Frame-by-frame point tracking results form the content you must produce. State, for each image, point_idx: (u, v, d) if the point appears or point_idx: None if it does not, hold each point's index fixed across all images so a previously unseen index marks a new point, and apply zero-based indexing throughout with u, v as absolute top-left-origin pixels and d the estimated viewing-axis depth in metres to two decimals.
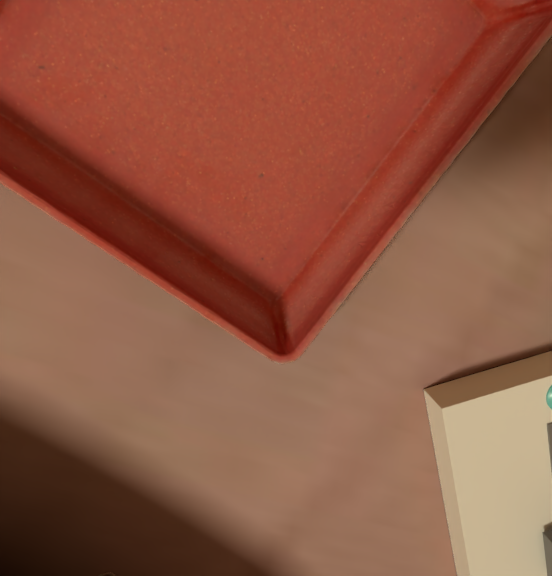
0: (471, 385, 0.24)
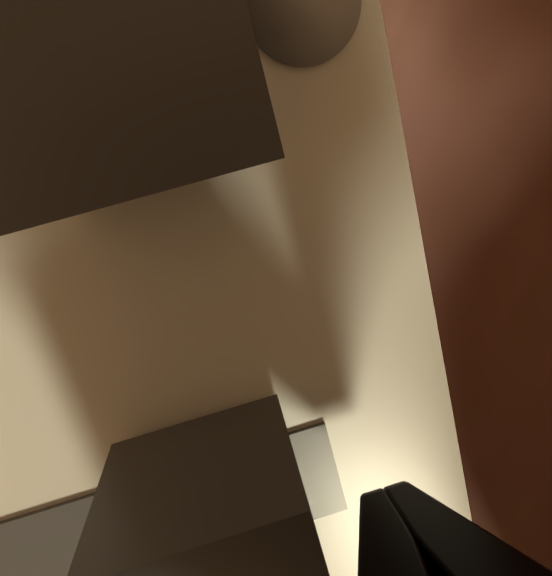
0: None
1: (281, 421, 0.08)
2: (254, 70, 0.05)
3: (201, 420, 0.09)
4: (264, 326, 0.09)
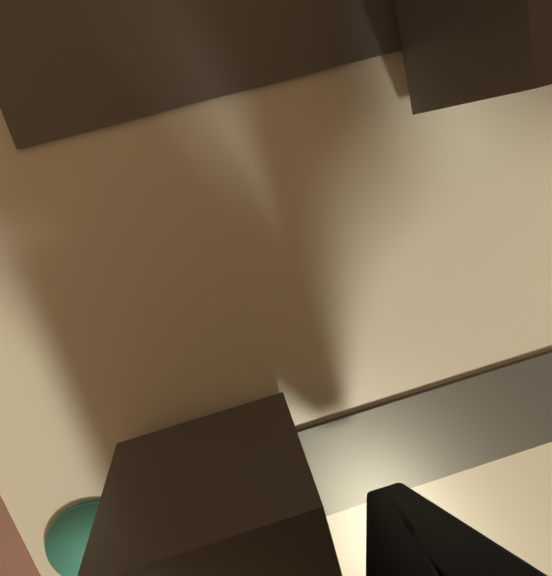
0: None
1: (289, 419, 0.08)
2: None
3: (207, 419, 0.09)
4: None
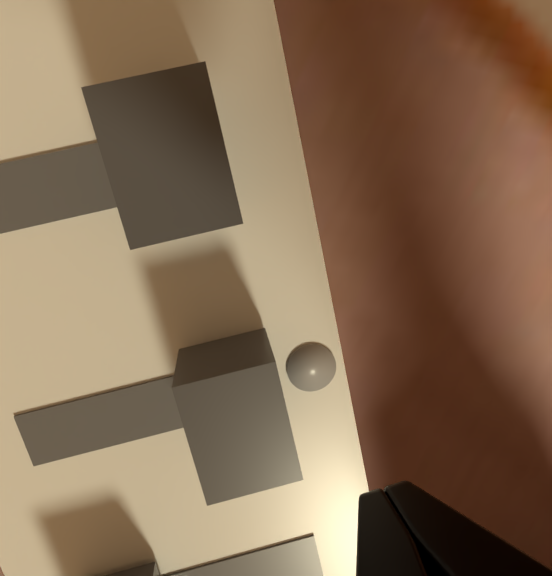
0: None
1: None
2: (295, 457, 0.15)
3: (118, 573, 0.18)
4: (287, 492, 0.19)
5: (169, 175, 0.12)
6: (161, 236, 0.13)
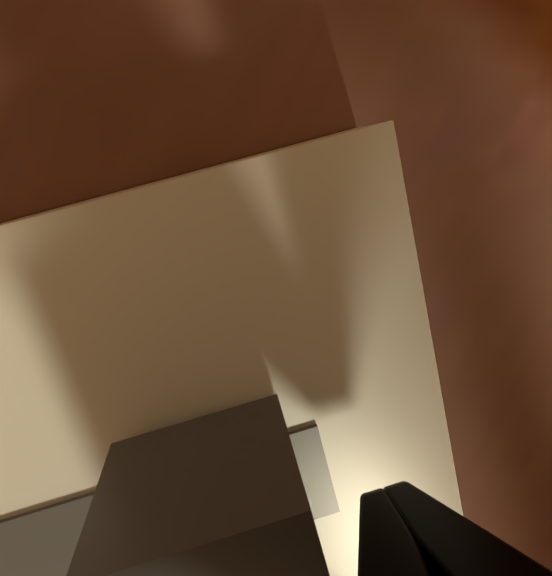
0: None
1: None
2: None
3: None
4: None
5: None
6: None
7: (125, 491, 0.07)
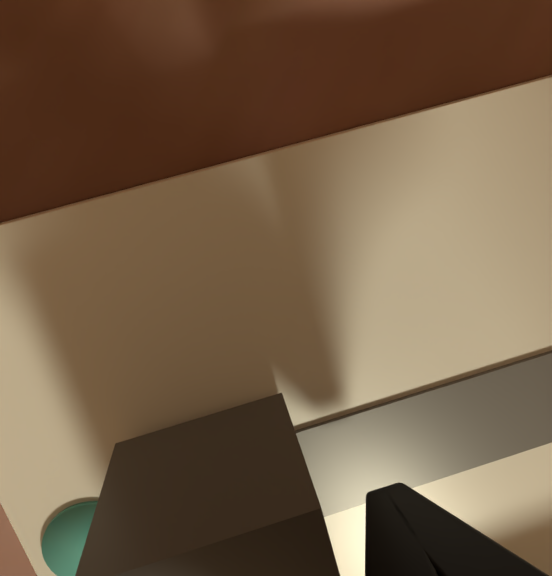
0: None
1: None
2: None
3: None
4: None
5: None
6: None
7: (132, 491, 0.07)
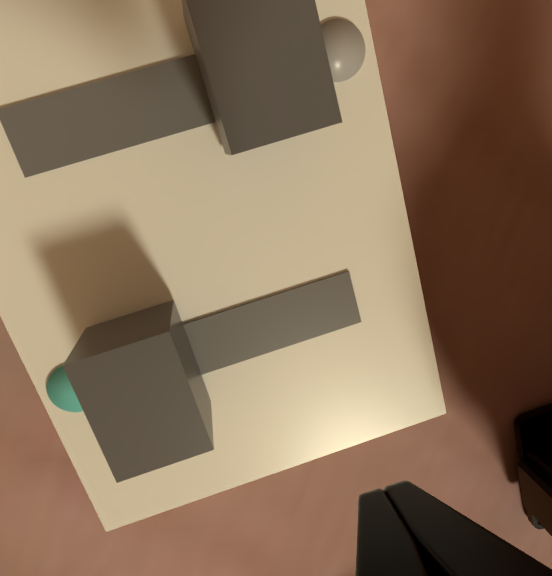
0: None
1: (170, 308, 0.15)
2: (331, 90, 0.12)
3: (133, 314, 0.16)
4: (317, 216, 0.17)
5: None
6: None
7: None
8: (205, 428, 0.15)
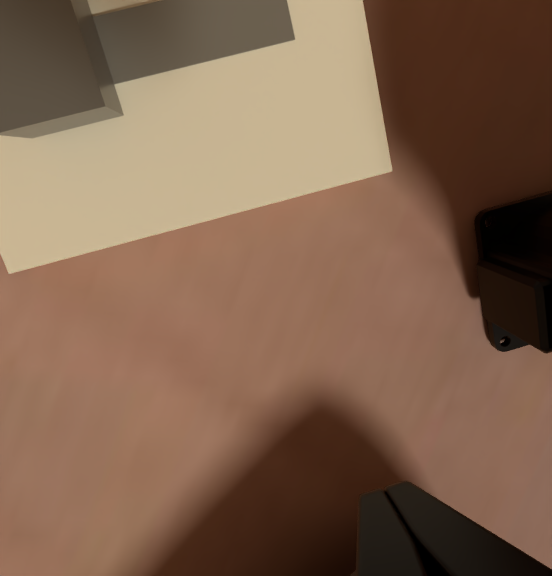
0: None
1: None
2: None
3: None
4: None
5: None
6: None
7: None
8: (95, 77, 0.13)
